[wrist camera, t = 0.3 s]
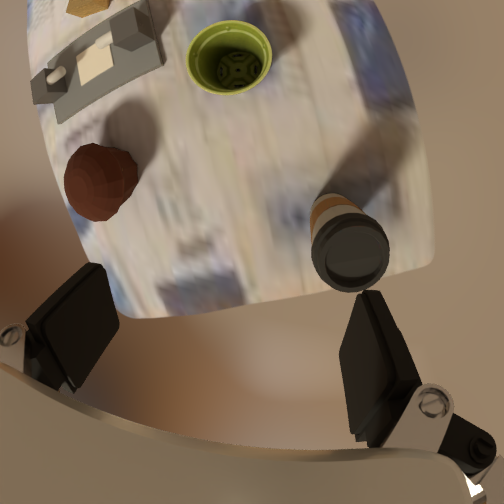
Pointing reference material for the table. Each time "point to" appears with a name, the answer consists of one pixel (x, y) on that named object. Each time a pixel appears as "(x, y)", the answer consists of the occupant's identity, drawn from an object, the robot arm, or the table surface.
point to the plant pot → (228, 57)
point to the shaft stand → (99, 62)
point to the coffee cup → (346, 244)
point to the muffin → (99, 181)
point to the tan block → (86, 7)
